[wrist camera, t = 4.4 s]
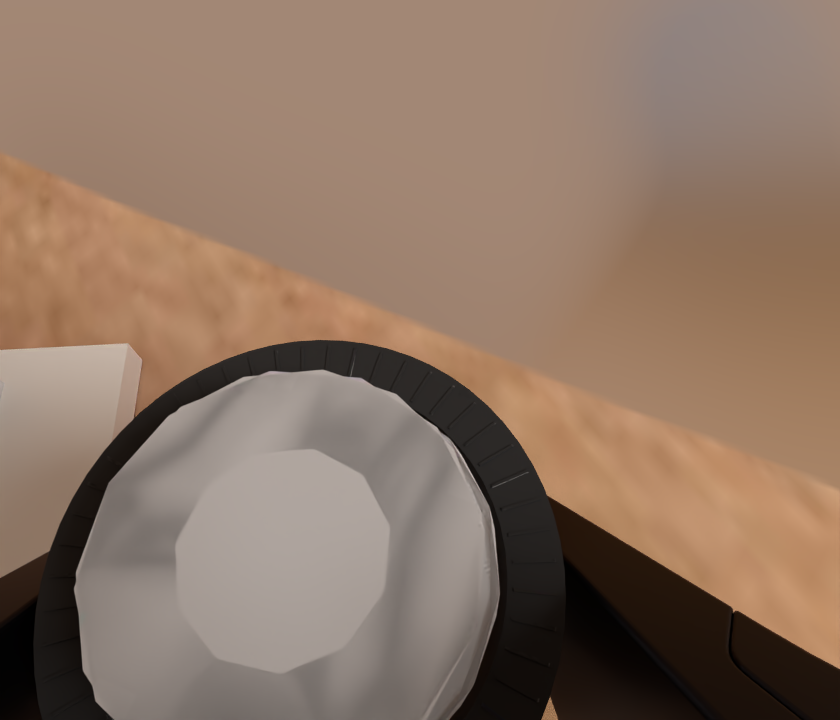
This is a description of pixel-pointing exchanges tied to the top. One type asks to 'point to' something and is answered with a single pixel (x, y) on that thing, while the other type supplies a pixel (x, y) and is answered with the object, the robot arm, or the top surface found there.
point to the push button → (305, 553)
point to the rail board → (55, 434)
